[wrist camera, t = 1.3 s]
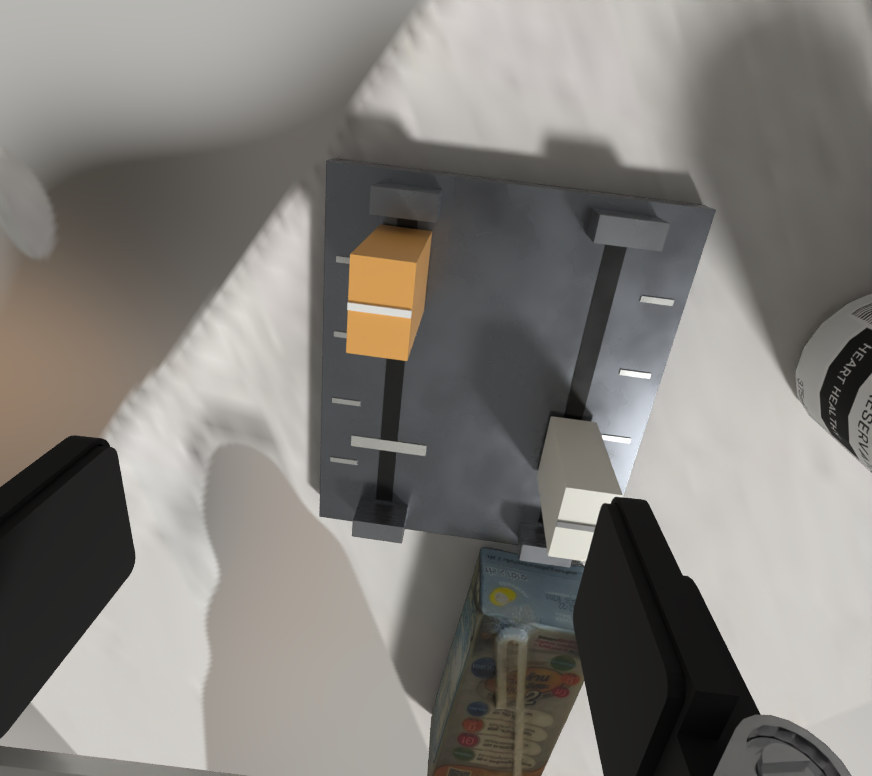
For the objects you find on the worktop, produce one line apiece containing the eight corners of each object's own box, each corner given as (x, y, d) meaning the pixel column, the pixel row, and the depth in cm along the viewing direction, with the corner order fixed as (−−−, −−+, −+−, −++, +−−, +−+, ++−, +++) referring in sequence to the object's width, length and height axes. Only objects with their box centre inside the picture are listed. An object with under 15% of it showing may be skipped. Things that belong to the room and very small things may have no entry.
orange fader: (380, 224, 26) (349, 254, 20) (432, 231, 26) (416, 263, 20) (375, 304, 28) (345, 353, 22) (423, 310, 28) (406, 362, 22)
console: (335, 158, 27) (314, 163, 24) (703, 205, 27) (733, 216, 23) (326, 500, 36) (310, 537, 33) (598, 539, 36) (609, 581, 33)
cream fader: (550, 416, 30) (566, 488, 24) (596, 422, 30) (623, 496, 24) (536, 476, 32) (548, 557, 26) (580, 482, 32) (601, 565, 26)
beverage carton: (595, 564, 37) (616, 648, 31) (523, 733, 46) (528, 825, 40) (479, 540, 37) (478, 620, 31) (428, 714, 46) (420, 803, 40)
